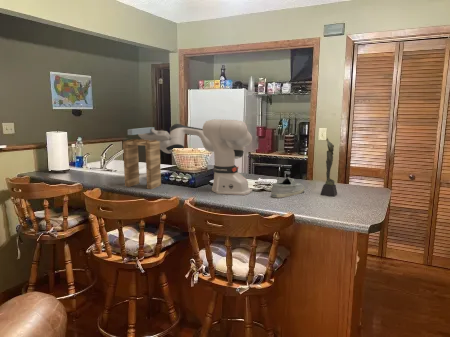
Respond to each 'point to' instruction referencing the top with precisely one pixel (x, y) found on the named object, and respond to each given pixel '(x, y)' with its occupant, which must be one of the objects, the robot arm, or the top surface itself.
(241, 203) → the top surface
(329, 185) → the statue
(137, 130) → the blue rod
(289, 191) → the boat shoe
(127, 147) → the oak bridge
